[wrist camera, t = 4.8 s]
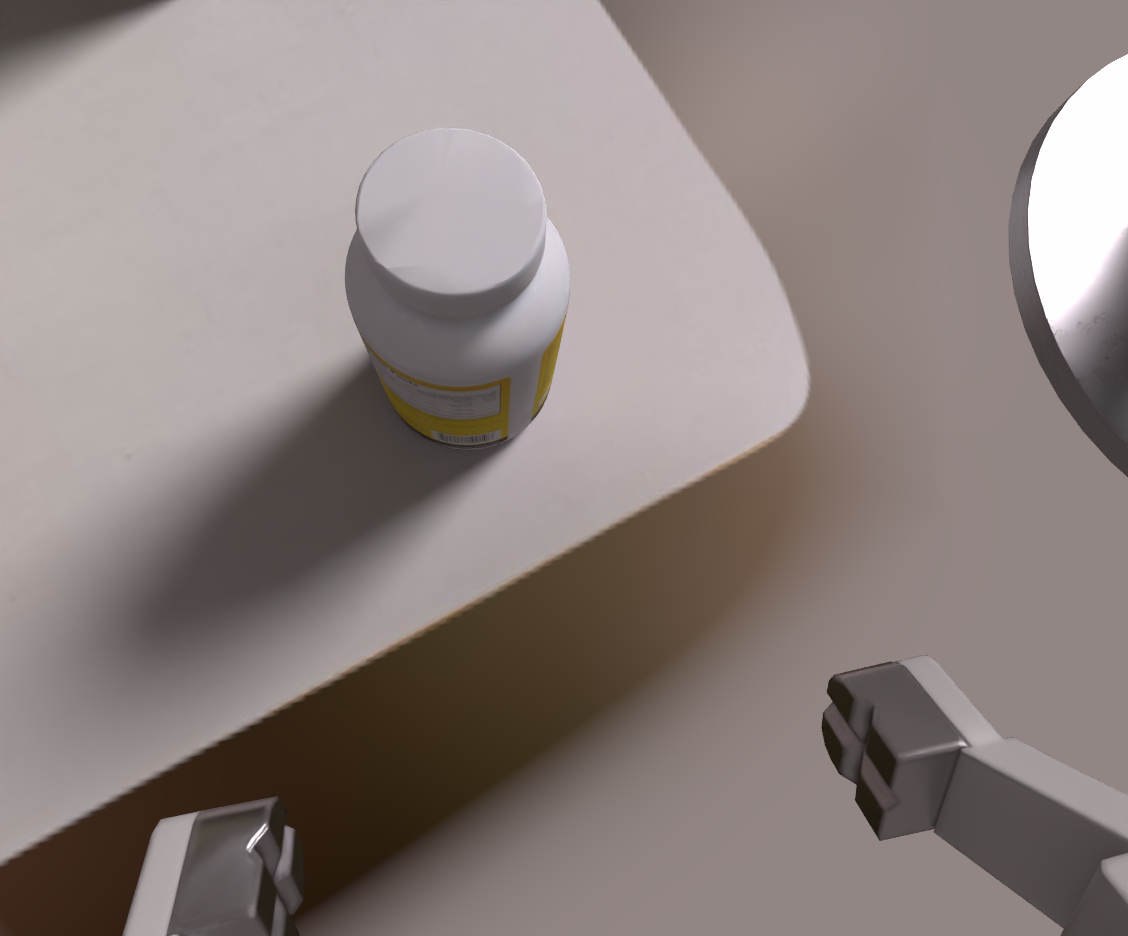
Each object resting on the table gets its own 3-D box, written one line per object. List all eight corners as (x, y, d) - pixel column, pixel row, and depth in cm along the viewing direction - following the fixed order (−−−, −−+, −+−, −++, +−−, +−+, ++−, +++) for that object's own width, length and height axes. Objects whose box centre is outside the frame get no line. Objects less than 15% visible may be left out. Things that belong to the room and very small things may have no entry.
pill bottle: (521, 283, 31) (538, 69, 19) (572, 428, 29) (622, 290, 18) (365, 324, 29) (286, 124, 18) (410, 476, 28) (356, 362, 17)
